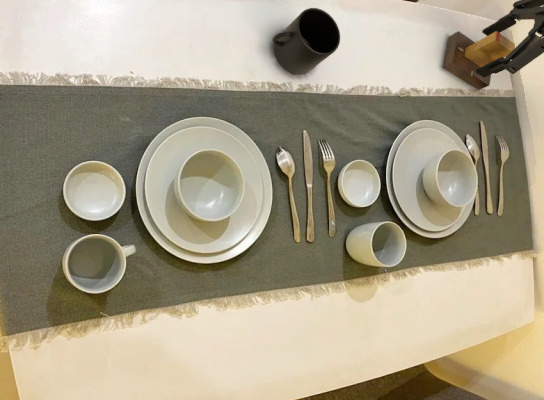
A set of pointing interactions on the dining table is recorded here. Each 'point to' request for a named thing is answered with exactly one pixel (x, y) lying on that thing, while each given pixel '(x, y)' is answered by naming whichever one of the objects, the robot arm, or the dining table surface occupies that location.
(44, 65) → the dining table surface
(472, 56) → the lock knob
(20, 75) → the dining table surface
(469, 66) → the plate
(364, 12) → the dining table surface
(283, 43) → the mug
